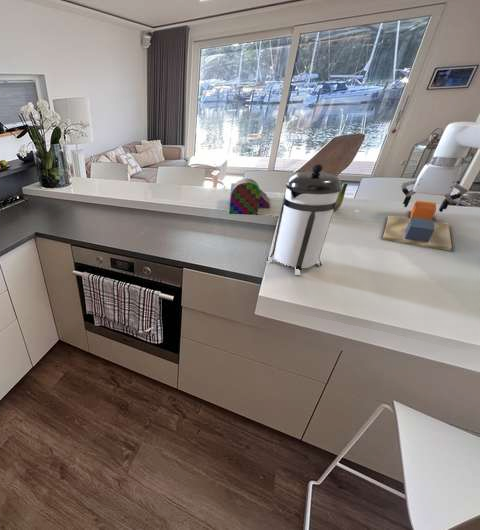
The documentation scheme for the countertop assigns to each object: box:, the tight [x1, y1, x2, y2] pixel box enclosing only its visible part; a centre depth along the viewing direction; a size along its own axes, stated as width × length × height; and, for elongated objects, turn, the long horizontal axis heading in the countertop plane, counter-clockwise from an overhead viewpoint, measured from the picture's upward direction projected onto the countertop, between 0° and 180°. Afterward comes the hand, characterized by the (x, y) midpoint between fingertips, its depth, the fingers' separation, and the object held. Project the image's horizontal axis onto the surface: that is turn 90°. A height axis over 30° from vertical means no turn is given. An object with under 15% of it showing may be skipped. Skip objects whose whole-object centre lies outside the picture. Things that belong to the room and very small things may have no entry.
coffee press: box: [266, 163, 343, 271], centre depth 82 cm, size 17×16×30 cm
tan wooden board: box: [382, 215, 453, 252], centre depth 99 cm, size 16×22×1 cm
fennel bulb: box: [334, 181, 349, 211], centre depth 120 cm, size 6×5×12 cm
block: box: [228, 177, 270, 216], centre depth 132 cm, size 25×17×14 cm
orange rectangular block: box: [409, 200, 437, 220], centre depth 109 cm, size 6×9×4 cm, turn 138°
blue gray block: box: [405, 216, 435, 243], centre depth 94 cm, size 6×9×4 cm, turn 138°
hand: (422, 208), depth 108 cm, fingers open, 9 cm apart
